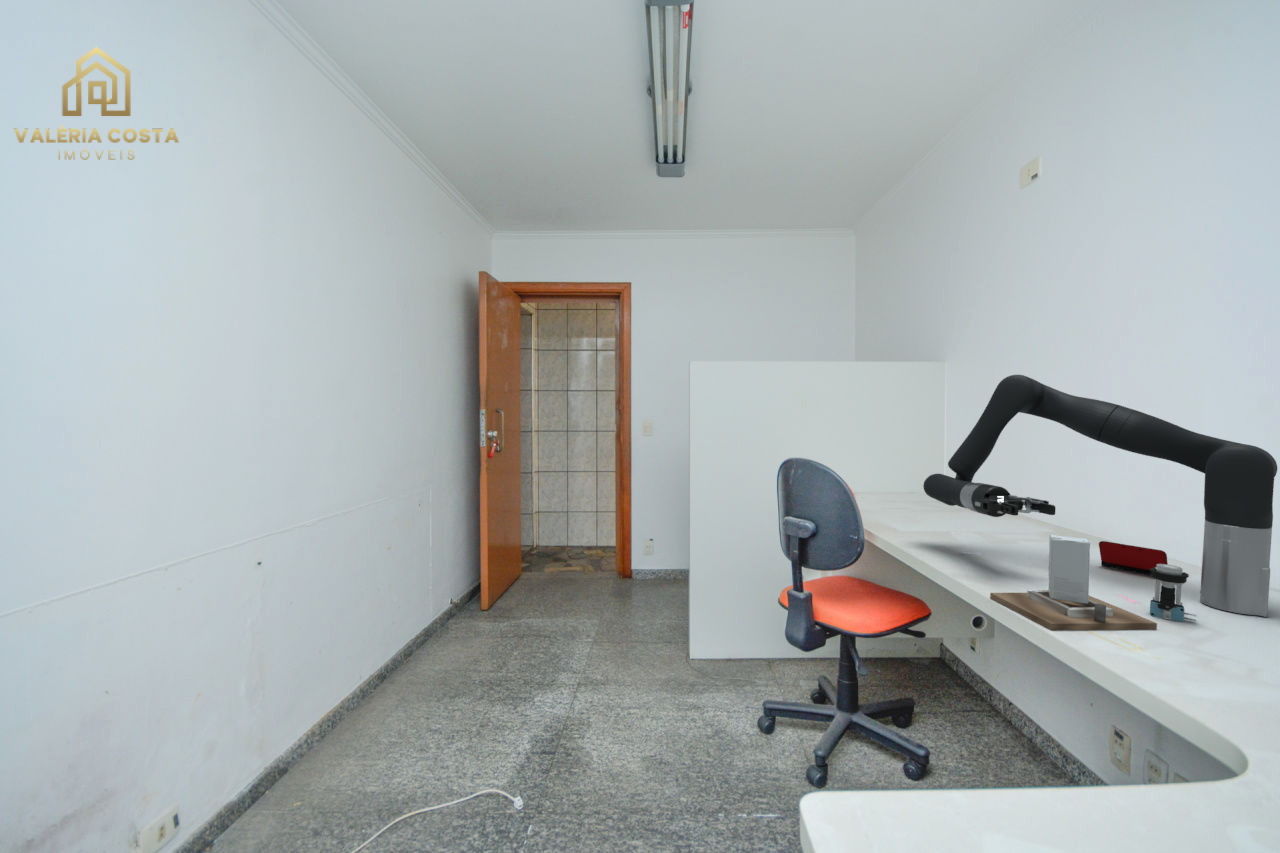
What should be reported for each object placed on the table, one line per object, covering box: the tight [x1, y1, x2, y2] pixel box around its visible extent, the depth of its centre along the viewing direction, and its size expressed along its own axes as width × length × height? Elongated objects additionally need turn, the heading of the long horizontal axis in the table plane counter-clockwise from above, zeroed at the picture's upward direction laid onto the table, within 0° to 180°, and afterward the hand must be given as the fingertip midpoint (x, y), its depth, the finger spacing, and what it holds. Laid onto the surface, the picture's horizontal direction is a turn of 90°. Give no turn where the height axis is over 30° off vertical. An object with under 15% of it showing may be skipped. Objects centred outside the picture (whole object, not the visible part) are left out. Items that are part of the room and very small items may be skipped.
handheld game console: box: [1098, 540, 1169, 577], centre depth 135 cm, size 12×11×7 cm
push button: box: [1149, 564, 1197, 623], centre depth 104 cm, size 7×5×10 cm
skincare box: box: [1047, 534, 1091, 604], centre depth 106 cm, size 6×4×12 cm
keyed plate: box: [989, 589, 1158, 631], centre depth 107 cm, size 20×16×4 cm
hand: (1035, 510), depth 120 cm, fingers open, 8 cm apart
